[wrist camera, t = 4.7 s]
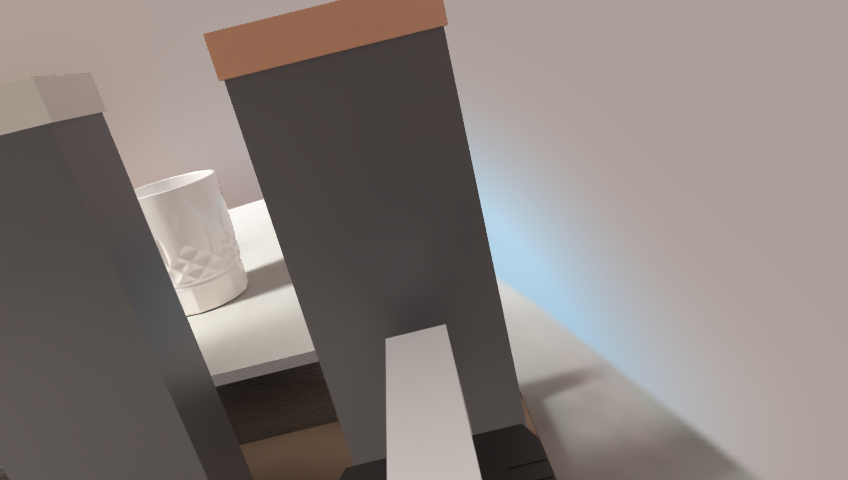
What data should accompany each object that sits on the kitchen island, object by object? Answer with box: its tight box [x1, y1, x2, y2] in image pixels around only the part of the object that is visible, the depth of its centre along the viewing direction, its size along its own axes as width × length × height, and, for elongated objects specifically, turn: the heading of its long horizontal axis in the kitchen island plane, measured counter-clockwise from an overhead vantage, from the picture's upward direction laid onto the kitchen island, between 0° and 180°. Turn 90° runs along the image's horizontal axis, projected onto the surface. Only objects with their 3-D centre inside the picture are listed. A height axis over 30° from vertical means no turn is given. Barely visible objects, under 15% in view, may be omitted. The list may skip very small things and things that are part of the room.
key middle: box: [0, 73, 254, 480], centre depth 16 cm, size 3×5×15 cm, turn 95°
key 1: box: [203, 0, 527, 466], centre depth 16 cm, size 3×5×15 cm, turn 95°
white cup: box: [134, 170, 248, 316], centre depth 46 cm, size 8×8×10 cm
